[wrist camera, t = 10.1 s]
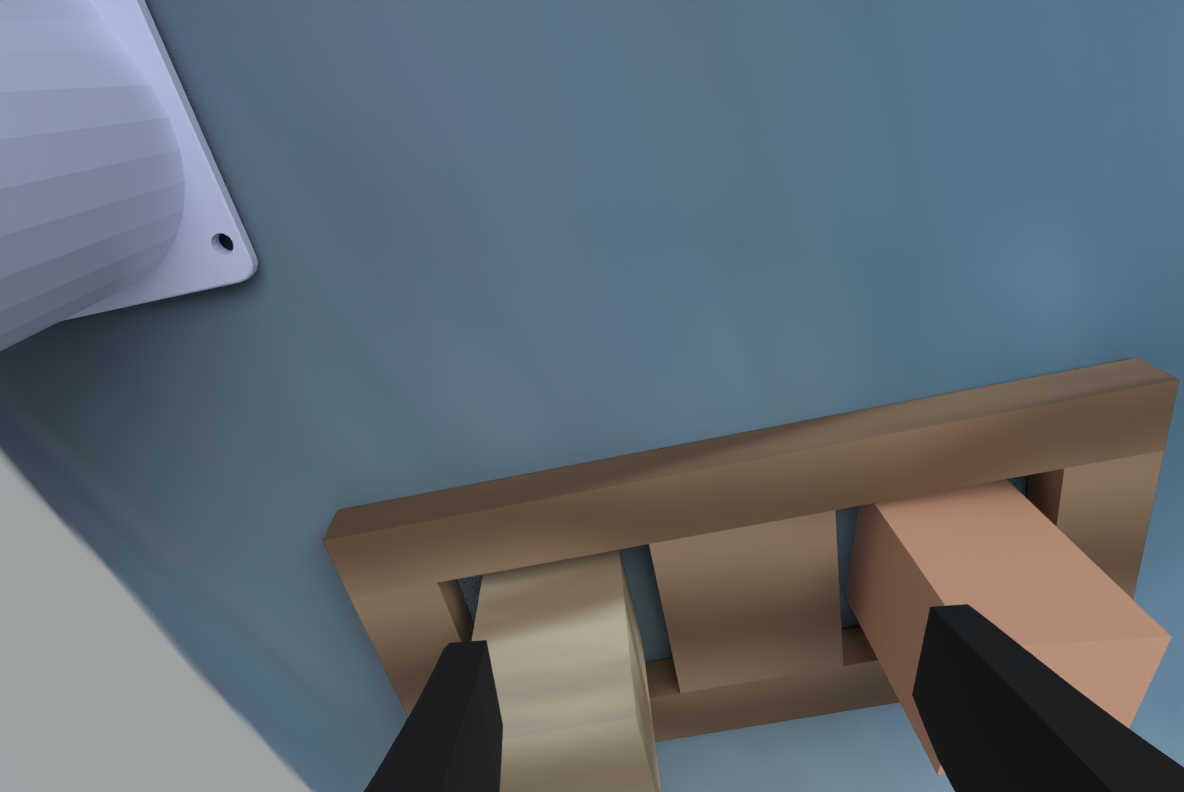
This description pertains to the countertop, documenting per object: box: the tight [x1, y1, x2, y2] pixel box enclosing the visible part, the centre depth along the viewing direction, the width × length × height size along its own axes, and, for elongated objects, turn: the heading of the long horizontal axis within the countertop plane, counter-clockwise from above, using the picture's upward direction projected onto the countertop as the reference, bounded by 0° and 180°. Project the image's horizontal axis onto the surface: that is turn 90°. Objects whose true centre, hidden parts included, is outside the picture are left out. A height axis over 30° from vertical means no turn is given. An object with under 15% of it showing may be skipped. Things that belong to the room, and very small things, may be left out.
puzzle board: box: [322, 358, 1179, 742], centre depth 22 cm, size 11×24×2 cm, turn 102°
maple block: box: [472, 549, 661, 792], centre depth 20 cm, size 4×4×6 cm
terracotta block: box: [845, 479, 1171, 775], centre depth 19 cm, size 4×4×6 cm
